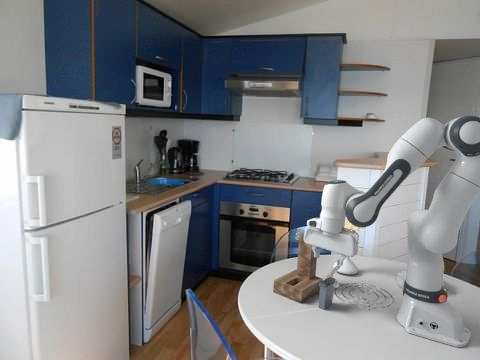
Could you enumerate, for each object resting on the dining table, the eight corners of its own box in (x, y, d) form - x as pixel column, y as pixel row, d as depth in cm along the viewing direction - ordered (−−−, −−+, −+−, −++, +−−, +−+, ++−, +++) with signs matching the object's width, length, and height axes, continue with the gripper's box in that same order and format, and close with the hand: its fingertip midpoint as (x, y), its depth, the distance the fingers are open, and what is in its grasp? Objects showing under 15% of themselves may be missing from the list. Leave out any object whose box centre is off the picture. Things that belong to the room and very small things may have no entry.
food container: (433, 302, 146) (436, 286, 144) (386, 283, 161) (388, 268, 160) (454, 289, 158) (456, 274, 157) (408, 273, 173) (410, 259, 172)
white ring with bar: (350, 280, 149) (336, 269, 149) (331, 297, 154) (318, 286, 155) (352, 270, 155) (338, 259, 156) (334, 286, 161) (321, 276, 162)
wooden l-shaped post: (322, 290, 151) (326, 236, 147) (300, 303, 139) (305, 244, 135) (295, 280, 159) (298, 228, 156) (273, 292, 147) (276, 236, 144)
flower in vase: (327, 267, 175) (332, 216, 171) (348, 266, 178) (353, 215, 174) (343, 279, 162) (348, 224, 158) (365, 277, 166) (370, 223, 162)
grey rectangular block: (333, 303, 140) (335, 278, 138) (322, 311, 134) (324, 285, 132) (327, 301, 141) (329, 276, 140) (317, 308, 135) (319, 283, 134)
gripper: (363, 229, 128) (358, 267, 130) (312, 217, 142) (308, 251, 144) (355, 233, 124) (350, 272, 126) (303, 219, 137) (300, 255, 139)
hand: (328, 261), depth 135 cm, fingers open, 8 cm apart
